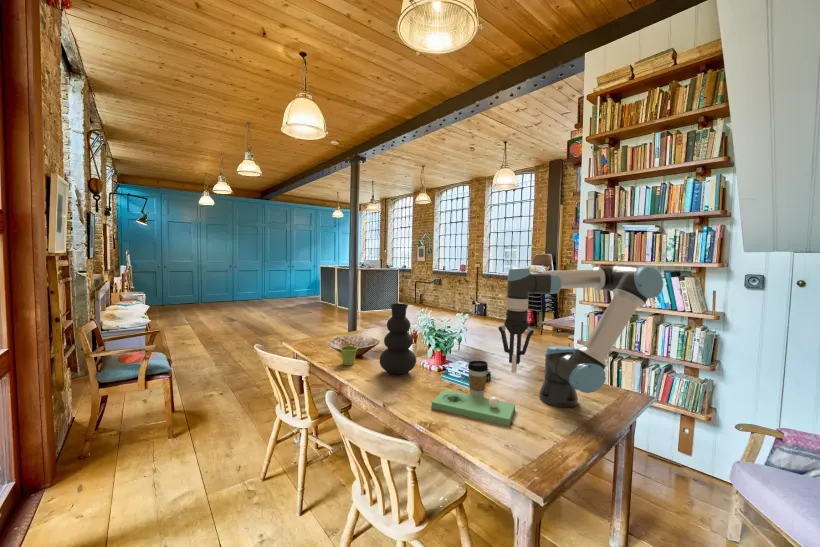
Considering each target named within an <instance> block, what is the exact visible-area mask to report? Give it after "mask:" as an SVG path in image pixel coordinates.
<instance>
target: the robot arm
mask: <svg viewBox="0 0 820 547" xmlns="http://www.w3.org/2000/svg"><path fill="white" fill-rule="evenodd" d="M507 273H508V276H507V292H506V293H507V296H506V311H505V312H506V315H505V322H504V323H503V324H502V325H499V326H498V328H497V329H498V330H499V333H500V335H501V342H502V346H503V351H504V353H507V354H508V363H509V364H511V370H510V372H511V373H512V374H516V373H517V370H518V369H517V368H518V365H520V363H521V356H524V355H526V352H527V349H528V346H529V343H530V339H531V337H532V336H533V334H534V333H535V329H534V328H531V327H529V323H528V309H529V296H530V294H539V295H553V294H558V293H559V292H560V291H561V289H590V288H591V289H594V290H595V291H597V290H598V291H602V290H603V291H609V292H612V293H613V297H612V299H611V301H610V302H609V304H608V306H607V307H606V309H605V311H604V312H603V313H602V315H601V317H600V319H599V320H598V321H597V323H596V325H595V326H594V328H593V329H592V331H591V332H590V334H589V336H588V337H587V339H586V341H585V342H584V343H583V345H582V346H581V347H577V348H575V347H572V346H565V345H550V346H547V348H545V353H544V354H545V355H544V356H545V360H544V361H545V362H544V364H545V365H544V380H543V383H542V384H541V387H540V390H539V395H538V397H539V400H541V401H542V402H543V403H546V404H548V405H551V406H554V407H559V408H574V407H577V405H578V404H579V403H578V401H579V397H578V394H577V391H580V393H584V394H591V393H595V392H597V391H599V390H600V389H601V388H602V387H603V386H604V384H605V382H606V380H607V378H606V370H605V369H606V367H607V364H606V358H607V356H608V355H609V353H610V352H611V350H612V349H613V347H614V345H615V344H616V342H617V340H618V339H619V337H620V336H621V334H622V333H623V331H624V330H625V328H626V326H627V324H628V323H629V321H630V319H631V318H632V316H633V315H634V313H635V312H636V310H637V308H638V307H643V306H644V305H645V304H646V303H647V301H648V300H649V299H654V298H656V297H659V295H661V292H662V291H663V289H664V280H663V276H662V274H661V272H660V271H659V270H658V269H657V268H656V267H655V268H654V267H652V266H646V265H633V264H632V265H631V264H616V265H608V266H597V267H596V266H595V267H593V268H592V269H571V270H568V269H567V270H566V269H565V270H541V271H540V270H538V271H537V270H534V271H532V270H530V269H529V268H528V267H510V268H509V270H508V272H507ZM506 329H507V332H508V333H509V343H508V339H507V334H506ZM525 332H526V333H527V335H526V337H525V341H524V344H523V348H522V335H523V334H524V333H525ZM515 335H516V352H515V350H514V349H515ZM514 352H515V353H514Z"/></svg>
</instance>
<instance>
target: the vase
mask: <svg viewBox="0 0 820 547" xmlns="http://www.w3.org/2000/svg"><path fill="white" fill-rule="evenodd" d="M389 306H390V308H391V316H390V317H389V318H388V320H387V322H386V328H387V330H388V331H389V332H388V333H386V335H384V339H383V343H384V346H385V347H386V349H385V350H383V351H382V352H381V354H380V356H379V365H380V367H381V368H382V369H383V371H385V372H386V374H387V375H388V376H392V377H403V376H404V377H405V376H407V375H408V374H409V373H410V371H412V370H413V369H414V367H415V366H416V362H417V357H416V355H415V353H414V352H413V351H412V350H411V349H410V348H411V346H412V345H413V341H414V340H413V338H412V335H411V334H410V333H409V331H410V329H411V322H410V319H408V317H407V308H408V307H409V304H407V303H396V302H395V303H390V304H389Z"/></svg>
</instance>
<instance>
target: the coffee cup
mask: <svg viewBox="0 0 820 547" xmlns="http://www.w3.org/2000/svg"><path fill="white" fill-rule="evenodd" d="M488 367H489V366H488V362H487V361H485V360H471V361H469V362H468V365H467V369H468V385H469V388H468V389H469V395H473V396H478V397H482V398H485V391H486V390H485V389H486V384H487V377H488V374H487V371H489V368H488Z"/></svg>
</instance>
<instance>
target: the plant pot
mask: <svg viewBox="0 0 820 547" xmlns="http://www.w3.org/2000/svg"><path fill="white" fill-rule="evenodd" d="M339 349H340V353H341V359H342V360H341V361H342V364H343V365H345V366H353V365H354V364H355V361H356V356H357V351H358V349H359V348H358V346H355V345H345V346H344V345H343V346H341V347H339Z"/></svg>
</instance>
